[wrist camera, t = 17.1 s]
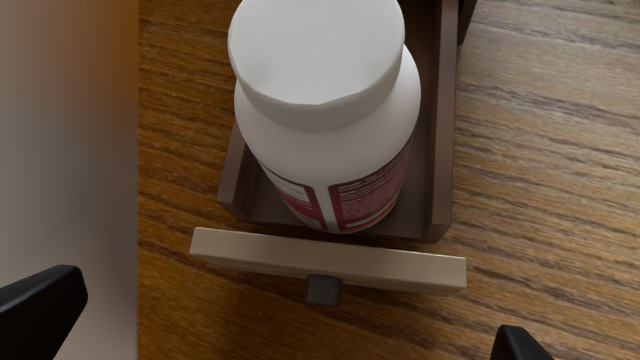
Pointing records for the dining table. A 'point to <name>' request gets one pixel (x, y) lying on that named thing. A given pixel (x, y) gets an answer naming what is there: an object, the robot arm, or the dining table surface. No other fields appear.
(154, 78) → the dining table surface
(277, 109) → the pill bottle
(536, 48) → the dining table surface
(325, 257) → the drawer
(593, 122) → the dining table surface
